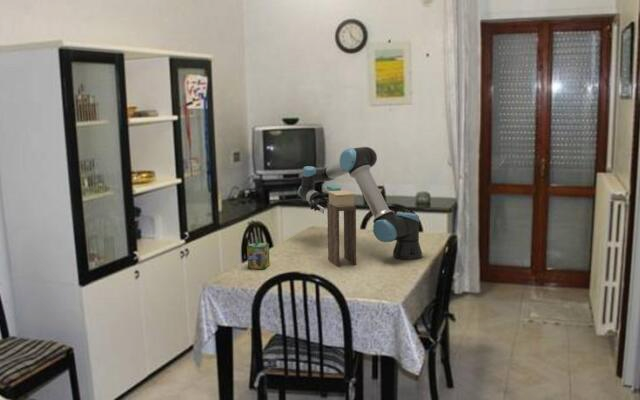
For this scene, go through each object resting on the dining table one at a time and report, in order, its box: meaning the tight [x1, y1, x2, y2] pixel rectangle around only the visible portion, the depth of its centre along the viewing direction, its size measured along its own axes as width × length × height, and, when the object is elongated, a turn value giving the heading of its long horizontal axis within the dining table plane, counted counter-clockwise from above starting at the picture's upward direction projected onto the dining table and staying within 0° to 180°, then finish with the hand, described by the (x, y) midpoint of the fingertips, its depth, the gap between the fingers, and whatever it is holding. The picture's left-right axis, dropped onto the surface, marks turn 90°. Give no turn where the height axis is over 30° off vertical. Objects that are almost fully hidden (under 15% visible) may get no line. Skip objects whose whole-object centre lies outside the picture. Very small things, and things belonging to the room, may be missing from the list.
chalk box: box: [246, 237, 271, 270], centre depth 315 cm, size 9×9×15 cm
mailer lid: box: [326, 185, 356, 197], centre depth 321 cm, size 24×10×2 cm, turn 17°
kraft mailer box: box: [328, 193, 355, 207], centre depth 317 cm, size 13×9×5 cm
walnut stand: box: [326, 202, 357, 268], centre depth 319 cm, size 15×10×30 cm, turn 17°
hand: (334, 209), depth 339 cm, fingers open, 13 cm apart
